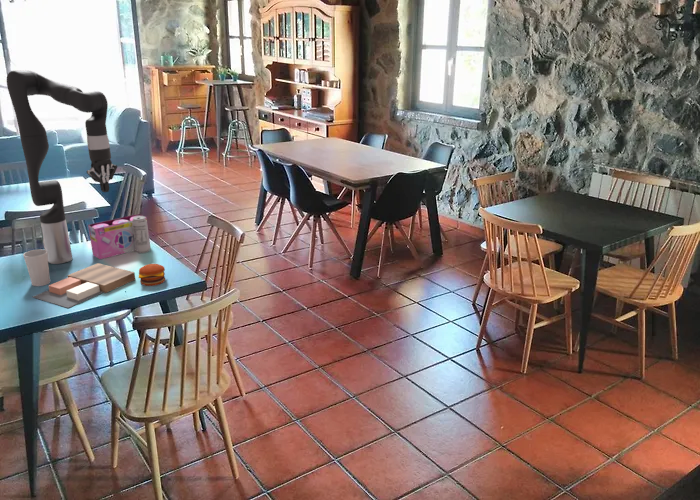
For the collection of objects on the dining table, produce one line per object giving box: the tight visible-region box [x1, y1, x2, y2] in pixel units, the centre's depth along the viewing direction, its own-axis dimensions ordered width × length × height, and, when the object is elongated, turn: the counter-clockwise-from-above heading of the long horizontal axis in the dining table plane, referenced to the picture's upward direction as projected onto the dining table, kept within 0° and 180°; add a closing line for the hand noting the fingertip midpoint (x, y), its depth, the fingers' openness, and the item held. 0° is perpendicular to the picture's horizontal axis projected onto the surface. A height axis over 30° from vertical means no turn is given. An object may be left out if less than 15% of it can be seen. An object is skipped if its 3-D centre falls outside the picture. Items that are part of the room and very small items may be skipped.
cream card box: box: [66, 282, 100, 301], centre depth 215 cm, size 6×9×2 cm, turn 150°
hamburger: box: [138, 263, 166, 287], centre depth 226 cm, size 9×10×7 cm
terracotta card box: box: [47, 277, 81, 295], centre depth 220 cm, size 6×9×2 cm, turn 151°
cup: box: [22, 248, 51, 287], centre depth 224 cm, size 8×8×12 cm
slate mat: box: [32, 289, 105, 309], centre depth 216 cm, size 19×15×1 cm
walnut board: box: [67, 262, 136, 294], centre depth 227 cm, size 20×14×3 cm
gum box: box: [87, 213, 151, 260], centre depth 257 cm, size 24×8×14 cm, turn 133°
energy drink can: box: [132, 215, 151, 254], centre depth 255 cm, size 6×6×15 cm
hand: (105, 191), depth 231 cm, fingers closed
